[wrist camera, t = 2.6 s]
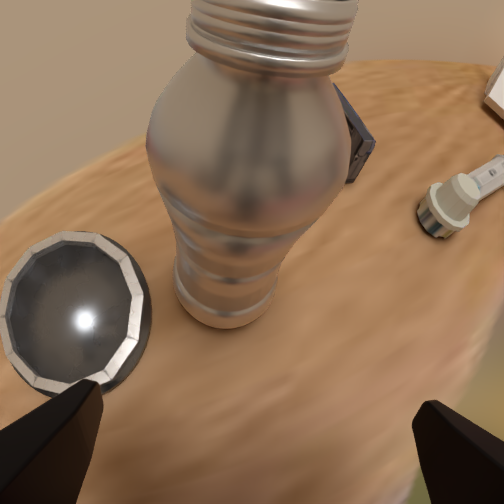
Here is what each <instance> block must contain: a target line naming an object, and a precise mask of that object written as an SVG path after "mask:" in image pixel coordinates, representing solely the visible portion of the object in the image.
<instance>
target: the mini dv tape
mask: <svg viewBox="0 0 504 504" xmlns="http://www.w3.org/2000/svg"><path fill="white" fill-rule="evenodd" d="M332 84H333V86H334V88H335V90H336V93H337V95H338V97H339V99H340V102H341V104H342V107H343V111H344V114H345V118H346V121H347V125H348V129H349V133H350V137H351V154H350V162H349V170H348V176H347V178H346V181H345V183H353V182H354V181H355V179H356V177H357V176H358V174H359V172H360V171H361V169H362V167H363V166H364V164H365V162H366V161H367V159H368V157H369V155H370V154H371V152H372V150H373V149H374V146H375V142H376V141H375V140H374V138H373V137H372V135H371V134H370V132H369V131H368V129H367V128H366V126H365V125H364V123H363V122H362V120H361V119H360V118H359V116H358V115H357V113H356V112H355V111H354V109H353V108H352V106H351V105H350V104H349V102H348V101H347V100H346V98H345V97H344V96H343V94H342V93H341V92H340V90H339V89H338V88H337V86H336V85H335V84H334V83H332Z"/></svg>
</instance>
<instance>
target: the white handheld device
mask: <svg viewBox="0 0 504 504" xmlns="http://www.w3.org/2000/svg"><path fill="white" fill-rule="evenodd" d="M502 186H504V155H499V154H497V155H496V156H495V157H494V158H493V159H492V160H491V161H490V162H488V163H486V164H485V165H483V166H481V167H480V168H478V169H476V170H474V171H473V172H471V173H469V174H468V175H466V174H463V173H460V174H457V175H455V176H452V177H451V178H450V179H449V180H447V181H446V182H445V183H444V184H443V183H439V182H438V183H435V184H433V185H431V186H430V187H429V188H428V190H427V194H426V197H425V198H424V199H423V200H422V201H421V202H420V203H419V204H420V207H419V209H418V210H417V213H418V216H419V220H420V222H421V224H422V225H423V226H424V228H425V229H426V231H427V232H429V233H430V234H432V235H433V236H434V237H436V238H437V237H438V236H442V237H444V238H445V239H446V238H447V237H448V236H450V235H451V234H452V233H453V232H454V231H458V232H459V231H460V230H462V229H463V228H464V227H465V226H466V225H468V224H469V215H470V214H469V213H470V212H471V211H472V210H473V209H474V207H475V206H476V205H477V204H478V202H479V201H480V200H482V199H483V198H485V197H486V196H488V195H490V194H491V193H493V192H494V191H496V190H498V189H499V188H501V187H502Z"/></svg>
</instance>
